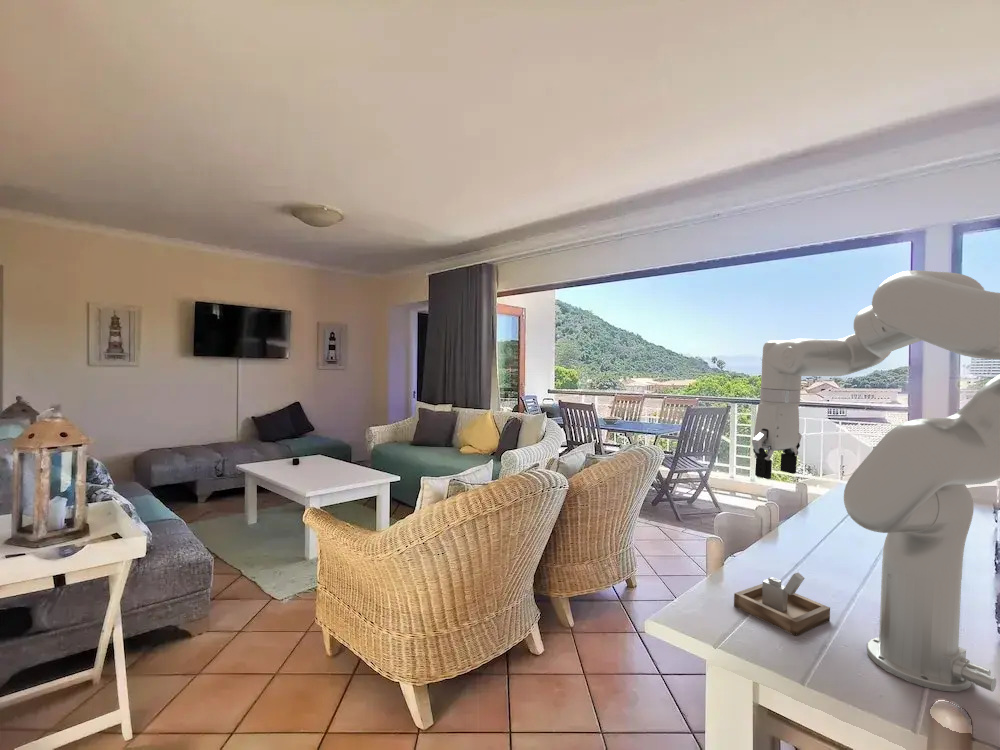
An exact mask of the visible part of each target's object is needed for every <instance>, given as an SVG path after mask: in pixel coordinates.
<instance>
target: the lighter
mask: <svg viewBox="0 0 1000 750" xmlns="http://www.w3.org/2000/svg"><path fill="white" fill-rule="evenodd" d="M805 579H806V578H805V577H804V576H803V575H802V574H801V573H800V572H795V573H793V574H792V575H791V577H790V579H789V580H788V582H787V583H786V585H782V580H780V579H778V578H777V577H776V578H775V577H768V579H764V580H762V584H763V587H762V603H764V604H766V605H768V606H770V607H772V608H775V609H777V610H779V611H781V612H784V611H786V610H787V600H788V594H789V595H792V594H794V593H796V592H797V590H798V589H799V587H800V586H801V585H802V583H803V582H804V580H805Z"/></svg>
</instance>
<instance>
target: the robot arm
mask: <svg viewBox="0 0 1000 750" xmlns="http://www.w3.org/2000/svg"><path fill="white" fill-rule="evenodd" d="M871 300H872V301H871V305H869V306H867V307H865V308H862V309H861V310H859V312H858V313H857V314H855V317H854V320H853V331H854V333H853V334H851V335H848V336H845V337H843V338H838V339H831V338H830V339H827V338H824V339H823V338H795V339H790V340H785V339H784V340H782V339H781V340H779V339H778V340H768V341H766V342H765V343H764V344H763V346H762V347H763V348H762V356H761V357H762V359H761V360H762V361H761V375H760V376H761V382H760V400H759V404H758V407H757V411H756V417H755V423H754V433H753V434H754V435H753V439H752V440H751V444H752V447H753V453H754V458H755V469H754V470H755V471H754V472H755V474H754V476H756V477H758V478H761V479H766V480H770V479H772V470H773V469H772V468H773V467H772V466H773V460H771V459H772V457H773V456H772V455H773V453H774V451H775V452H777V451H778V452H779V451H782V452H783V453H781V454H780V466H779V467H780V468H779V469H780V472H783V473H788V474H792V475H795V474H796V473H797V462H798V456H799V448H800V446H801V443H800V442H801V439H802V434H801V433H800V413H799V412H800V411H799V406H800V405H801V387H802V377H842V376H848V375H851V374H854V373H857V372H861V371H863V370H867V369H869V368H872V367H875V366H877V365H878V364H880V363H882V362H883V361H884V360H886V358H888V357H889V356H890V354H892V352H894V351H896V350H899V349H902V348H904V347H907V346H910V345H913V344H915V343H918V342H921V341H922V342H925V343H927V344H931V345H933V346H936V347H938V348H941V349H944V350H946V351H948V352H952V353H955V354H958V355H961V356H964V357H969V358H972V359H973V358H974V359H983V360H984V359H986V360H1000V292H995V291H989V290H985V288H984V286H983V285H982V284H981V283H980V282H978V280H976V279H974V278H973V277H972V276H971V277H970V276H968V275H965V274H962V273H959V272H958V273H957V272H948V271H933V270H931V271H930V270H928V271H927V270H917V269H915V270H906V271H901V272H898V273H896V274H894V275H893V274H892V276H890V277H888V278H887V279H885V280H883V282H882V283H881V284H879V286H878V287H877V288H876V289H875V291H874V294H873V296H872V299H871ZM999 479H1000V374H998V375H996V376H995V377H994V378H991V380H989V381H987V382H986V383H985V384H984V385H983V386H981V387H980V388H979V390H978V391H977V392H975V394H974V395H973V396H972V397H971V399H970V400H968V402H967V403H965V405H964V406H962V408H960V409H959V410H958V411H957V412H955V413H954V414H952V415H949V416H946V417H945V416H944V417H930V418H929V417H927V418H926V417H925V418H915V419H911V420H908V421H905V422H902V423H900V424H899V425H896V426H894V427H893V428H892V429H890V430H889V431H888V432H887V433H886V434H885V435H884V436H883V437H882V438H881V439H880V441H879V442H878V443H877V444H876V446H874V448H873V449H872V450H871V452H869V453H868V455H866V457H865V458H864V459H863V461H862V462H861V463H860V464H859V465H858V467H857V468H856V469H855V470H854V472H852V474H851V476H850V477H849V479H848V480H847V482H846V484H845V487H844V492H843V503H844V508H845V511H846V513H847V514H848V516H849V517H850V518H851V519H852V520H853V522H855V523H856V524H857V525H859V527H862V528H863V529H866V530H868V531H871V532H874V533H883V534H886V536H885V540H884V542H883V548H882V559H881V561H882V562H881V583H880V584H881V585H880V589H881V590H880V606H879V607H880V609H879V610H880V611H879V630H878V633H879V634H878V637H874V638H871V639H869V640H868V641H867V643H866V652H867V655H868V657H870V659H871V660H872V661H873V662H874V663H875V664H877V665H878V666H879V667H880V668H881V669H883V670H885V671H886V672H888V673H889V674H892V675H894V676H896V677H897V678H900V679H902V680H905V682H909V683H912V684H915V685H917V686H921V687H924V688H928V689H933V690H937V691H941V692H942V691H944V692H961V691H965V690H967V689H969V688H970V687H971V686H972V683H973V684H975V685H976V686H979V687H981V688H983V689H985V690H987V691H990V692H994V691H995V689H996V686H997V679H996V677H994V676H992V675H991V670H990V669H988V668H985V667H984V666H981V665H977V664H975V663H973V662H971V661H970V660H969V659H968V658H967V649H966V648H963V647H961V646H959V645H960V644H959V643H960V641H959V640H960V621H961V620H960V618H961V601H962V600H961V598H962V596H961V595H962V581H963V567H964V566H963V564H964V563H963V562H964V552H965V548H966V547H965V546H966V541H967V537H968V534H969V530H970V527H971V524H972V521H973V515H974V500H973V499H974V498H973V496H972V494H971V491H970V490H969V488H968V487H967V486H971V485H983V484H984V485H985V484H988V483H992V482H994V481H996V480H999Z"/></svg>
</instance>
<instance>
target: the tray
mask: <svg viewBox="0 0 1000 750" xmlns="http://www.w3.org/2000/svg"><path fill="white" fill-rule="evenodd" d="M762 587H763V583H760V584H757V585H753V586H752V587H748V588H746V589H743V590H740V591H738V592H734V593H733V595H734V597H733V607H736V608H738V609H740V610H741V611H743V612H745V613H748V614H750V615H751V616H754V617H757V618H758V619H760V620H762V621H764V622H766V623H768V624H770V625H772V626H774V627H776V628H778V629H780V630H782V631H784V632H787V633H789V634H791V635H792V636H794V637H798V636H800V635H801V634H804V633H806V632H808V631H809V632H810V630H814V629H815V628H817V627H819V626H822V625H825V624H826V623H828V622H830V621H831V618H830V617H831V607H829V606H827V605H826V604H823V603H820V602H817V601H815V600H812V599H810V598H808V597H805V596H804V595H800V594H798V593H796V592H795V593H794V594H792V595H789V594H788V600H787V610H786V611H784V612H781V611H779V610H777V609H775V608H772V607H770V606H768V605H766V604H764V603H762Z"/></svg>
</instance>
